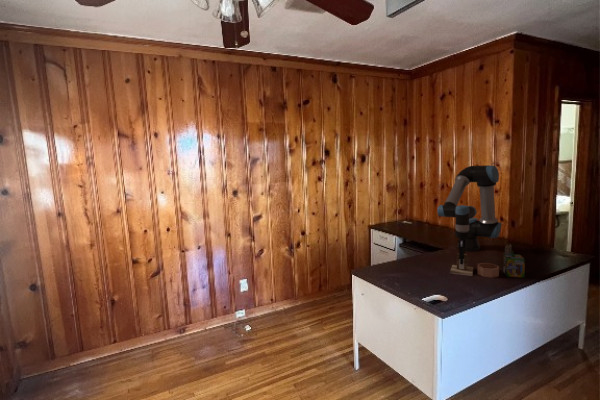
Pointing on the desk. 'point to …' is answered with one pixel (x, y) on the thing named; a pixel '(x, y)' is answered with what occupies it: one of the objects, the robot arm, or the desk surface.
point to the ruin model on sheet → (508, 249)
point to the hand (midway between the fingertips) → (461, 267)
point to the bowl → (488, 270)
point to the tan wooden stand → (465, 271)
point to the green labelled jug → (513, 265)
